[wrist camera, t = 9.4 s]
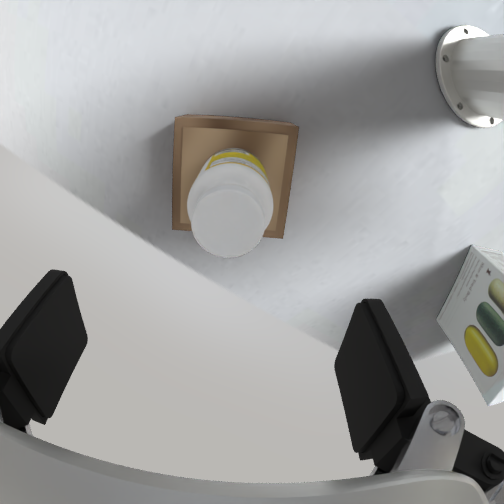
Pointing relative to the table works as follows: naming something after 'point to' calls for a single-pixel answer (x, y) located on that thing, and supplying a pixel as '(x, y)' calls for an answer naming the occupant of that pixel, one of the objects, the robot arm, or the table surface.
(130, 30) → the table surface
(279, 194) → the brown square tray
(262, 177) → the supplement bottle
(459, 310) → the supplement box
